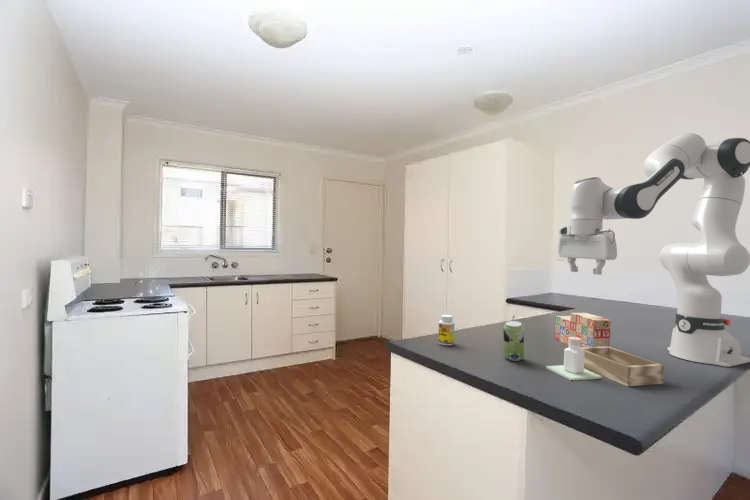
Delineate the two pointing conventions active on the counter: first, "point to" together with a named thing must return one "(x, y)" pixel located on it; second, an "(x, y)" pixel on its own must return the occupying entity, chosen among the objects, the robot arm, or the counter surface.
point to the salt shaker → (574, 356)
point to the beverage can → (513, 340)
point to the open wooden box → (622, 366)
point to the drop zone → (572, 376)
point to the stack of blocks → (583, 329)
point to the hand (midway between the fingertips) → (585, 273)
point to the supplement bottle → (446, 330)
